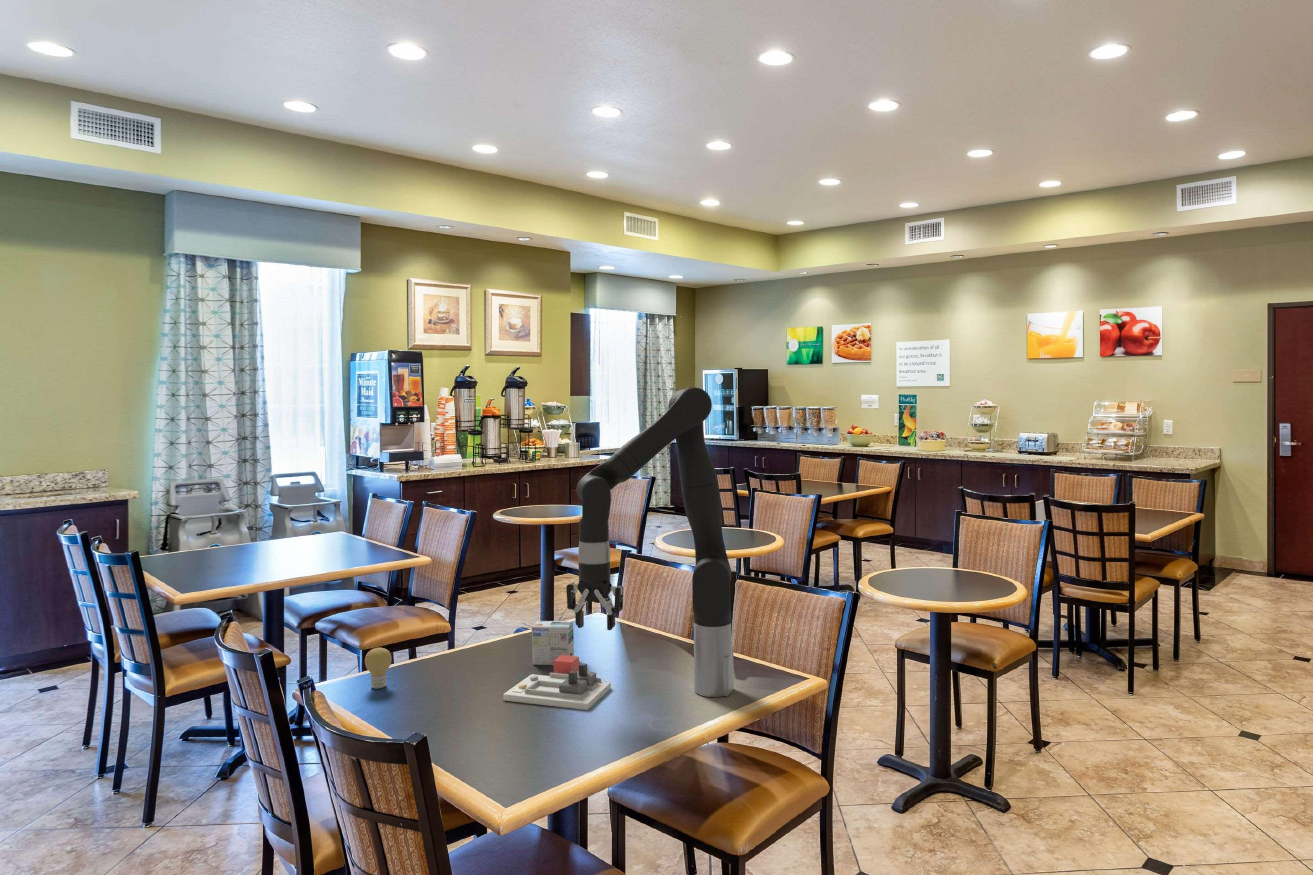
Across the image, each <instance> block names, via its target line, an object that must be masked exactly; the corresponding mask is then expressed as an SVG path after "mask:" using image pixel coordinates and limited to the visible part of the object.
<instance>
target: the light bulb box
mask: <svg viewBox="0 0 1313 875" xmlns="http://www.w3.org/2000/svg"><path fill="white" fill-rule="evenodd" d="M574 634H575V633H574V621H573V620H570V621H568V620H562V621H561V620H560V621H559V620H549V621H548V620H536V621H535V623H534V624H533V625H532V626H531V657H532V658H531V661H532V662H531V663H532V665H533V666H534V665H535V666H536V665H537V666H538V665H539V666H540V665H541V666H548V665H549V666H554V660H555V659H557V658H558V657H559V656H561V655H568V656H575V644H574V643H575V641H574Z"/></svg>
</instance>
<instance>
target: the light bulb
mask: <svg viewBox="0 0 1313 875" xmlns="http://www.w3.org/2000/svg"><path fill="white" fill-rule="evenodd" d="M392 658H393V656H392V653H391V652H390V650H388V649H386V648H385V647H384V648H383V647H375V648H372V649H370V650H369V651H368V652H367V653H366V655H365V658H364V665H365V668H366V670H368V672H369V673H370V674H371V676H370V686H371V688H373V689H377V690H378V689H383V688H385V687H386V686H387V680H388V678H387V673H386V672H387V671H388V670H389V669H390V666H391V664H392Z"/></svg>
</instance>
